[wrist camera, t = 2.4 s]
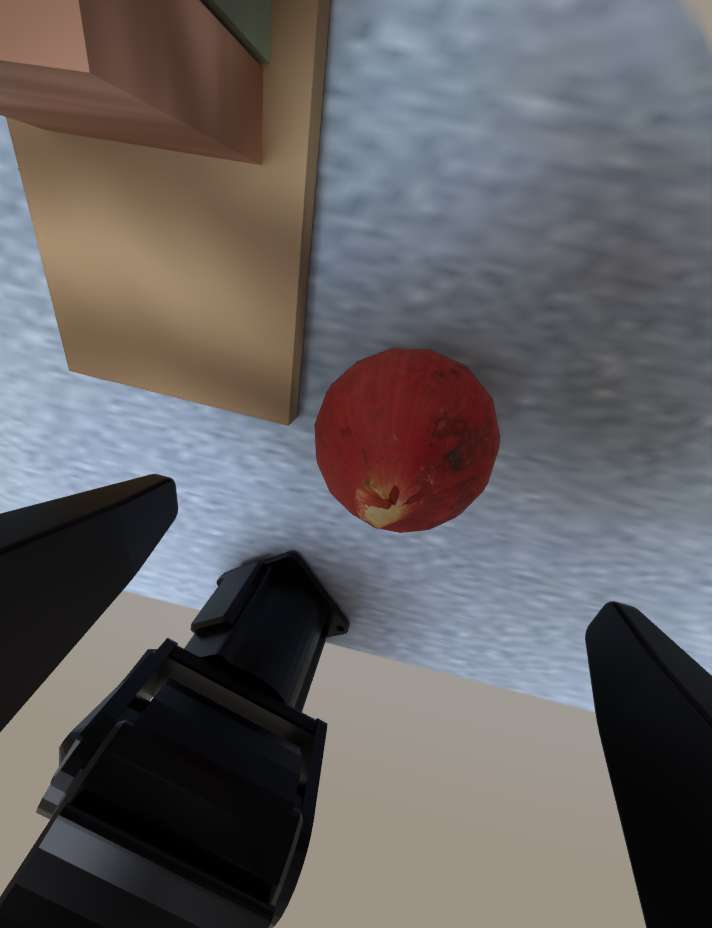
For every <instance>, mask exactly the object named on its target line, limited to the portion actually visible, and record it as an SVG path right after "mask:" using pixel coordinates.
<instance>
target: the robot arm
mask: <svg viewBox="0 0 712 928" xmlns="http://www.w3.org/2000/svg"><path fill="white" fill-rule="evenodd" d="M177 513H178V502H177V492H176V484H175V482H174V480H173V479H172V478H169V477H166V476H162V475H159V474H151V475H147V476H143V477H139V478H136V479H132V480H128V481H124V482H120V483H116V484H112V485H109V486H105V487H101V488H97V489H93V490H89V491H85V492H82V493H78V494H74V495H70V496H66V497H62V498H59V499H55V500H51V501H47V502H43V503H39V504H35V505H32V506H28V507H24V508H20V509H16V510H12V511H8V512H5V513H1V514H0V732H1V731H2V729H3V728H4V727H5V726H6V725H7V724H8V723H9V721H10V720H11V719H12V718H13V717H14V715H16V713H17V712H18V711H19V710H20V709H21V708H22V706H23V705H24V704H25V703H26V702H27V701H28V699H29V698H30V697H31V696H32V695H33V694H34V692H35V691H36V690H37V689H38V688H39V687H40V685H41V684H42V683H43V682H44V681H45V680H46V679H47V678H48V676H49V675H50V674H51V673H52V672H53V671H54V669H55V668H56V667H57V666H58V665H59V663H60V662H61V661H62V660H63V659H64V658H65V657H66V655H67V654H68V653H69V652H70V651H71V650H72V649H73V647H74V646H75V645H76V644H77V642H79V640H80V639H81V638H82V637H83V636H84V634H85V633H86V632H87V631H88V630H89V629H90V628H91V626H92V625H93V624H94V623H95V622H96V621H97V620H98V618H99V617H100V616H101V615H102V614H103V613H104V611H105V610H106V609H107V608H108V607H109V606H110V605H111V603H112V602H113V601H114V600H115V599H116V598H117V596H118V595H119V594H120V593H121V592H122V591H123V589H124V588H125V587H126V586H127V585H128V584H129V582H130V581H131V580H132V579H133V577H134V576H135V575H136V573H137V572H138V571H139V570H140V568H141V567H142V565H143V564H144V563H145V561H146V560H147V558H148V557H149V555H150V554H151V553H152V551H153V550H154V548H155V547H156V546H157V544H158V543H159V541H160V540H161V538H162V537H163V536H164V534H165V533H166V531H167V530H168V529H169V527H170V526H171V524H172V523H173V521H174V520H175V518H176V516H177ZM290 560H291V561H290ZM292 561H293V562H292ZM217 585H218V588H217V589H216V590H215V592H214V593H213V594H212V596H211V597H210V599H209V600H208V601H207V603H206V604H205V606H204V607H203V608H202V610H201V611H200V612H199V614H198V615H197V617H196V618H195V619H194V621H193V622H192V624H191V631H192V632H193V633H194V635H193V637H192V638H191V639H190V641H189V642H188V644H187V645H186V647H185V648H184V649H183V648H181V647H179V646H178V645H177V644H178V643H177V642H175V641H173V640H171V639H169V638H167V639H166V640H165V641H164V642H163V644H162V645H161V646H160V647H159V648H158V649H148V650H147V651H146V652H145V654H144V655H143V656H142V658H141V659H140V660H139V662H138V663H137V664H136V665H135V666H134V668H133V669H132V670H131V671H130V673H129V674H128V675H127V676H126V677H125V679H124V680H123V681H122V682H121V683H120V684H119V685H118V686H117V687H116V688H115V689H114V690H113V691H112V692H111V693H110V694H109V695H108V696H107V697H106V698H105V699H104V700H103V701H102V702H101V703H100V704H99V705H98V706H97V707H96V708H95V709H94V710H93V711H92V712H91V713H90V714H89V715H88V716H87V717H86V718H85V719H84V720H83V721H81V723H79V725H77V726H76V727H75V728H74V729H73V730H72V731H71V732H70V733H69V735H68V736H67V737H66V738H65V740H64V741H63V743H62V744H61V746H60V748H59V768H58V769H57V771H56V773H55V774H54V776H53V778H52V780H51V785H50V786H49V788H48V790H47V791H46V793H45V795H44V796H43V798H42V800H41V802H40V804H39V806H38V808H37V811H36V813H38V814H40V815H42V816H44V817H46V818H48V819H50V821H49V823H48V825H47V826H46V828H45V829H44V830H43V832H42V833H41V835H40V837H39V838H38V840H37V841H36V843H35V844H34V846H33V848H32V849H31V850H30V852H29V853H28V855H27V857H26V858H25V860H24V861H23V863H22V864H21V866H20V867H19V869H18V870H17V872H16V873H15V875H14V877H13V878H12V880H11V881H10V883H9V884H8V886H7V888H6V889H5V890H4V892H3V893H2V895H1V897H0V928H273V927H274V926H275V925H276V923H277V922H278V921H279V920H280V918H281V917H282V915H283V913H284V911H285V909H286V908H287V906H288V903H289V901H290V899H291V897H292V894H293V892H294V890H295V887H296V884H297V882H298V879H299V876H300V873H301V870H302V867H303V864H304V860H305V857H306V854H307V850H308V846H309V842H310V838H311V832H312V827H313V821H314V815H315V807H316V800H317V794H318V786H319V780H320V773H321V766H322V759H323V752H324V745H325V738H326V732H327V723H325V722H324V721H322V720H320V719H318V718H317V719H316V720H315V719H313V718H311V717H310V716H308V715H306V714H304V713H302V710H303V707H304V704H305V701H306V698H307V695H308V692H309V689H310V686H311V683H312V680H313V677H314V674H315V671H316V668H317V665H318V662H319V659H320V656H321V653H322V650H323V647H324V644H325V641H326V638H327V637H331V636H336V635H341V634H345V633H347V632H348V629H349V626H350V623H349V621H348V620H347V619H346V617H345V616H344V615H343V613H342V612H341V611H340V609H339V608H338V607H337V605H336V604H335V603H334V601H333V600H332V599H331V597H330V596H329V595H328V593H327V592H326V591H325V589H324V588H323V587H322V585H321V584H320V583H319V581H318V580H317V579H316V577H315V576H314V575H313V573H312V572H311V571H310V569H309V568H308V567H307V565H306V564H305V563H304V561H303V560H302V559H301V557H300V556H299V555H298V554H296V553H293V552H289V553H286V554H283V555H280V556H277V557H274V558H271V559H268V560H265V561H256V562H253V563H250V564H247V565H244V566H241V567H238V568H236V569H233V570H230V571H229V572H228V573H226V574H223V575H221V576H220V577H219V579H218V580H217ZM585 642H586V649H587V656H588V663H589V670H590V678H591V685H592V692H593V699H594V707H595V713H596V719H597V724H598V729H599V734H600V738H601V743H602V746H603V751H604V755H605V759H606V763H607V767H608V771H609V775H610V779H611V784H612V788H613V792H614V796H615V800H616V804H617V809H618V813H619V817H620V821H621V825H622V829H623V833H624V837H625V841H626V845H627V850H628V854H629V858H630V862H631V866H632V870H633V875H634V878H635V883H636V886H637V891H638V895H639V899H640V903H641V907H642V912H643V916H644V920H645V924H646V928H712V676H711V675H710V674H709V673H708V672H707V671H706V670H705V669H704V668H703V667H701V666H700V665H699V664H698V663H697V662H696V661H695V660H694V659H693V658H691V657H690V656H689V655H688V654H687V653H686V652H685V651H684V650H683V649H681V648H680V647H679V646H678V645H677V644H676V643H675V642H674V641H672V640H671V639H670V638H669V637H668V636H667V635H666V634H665V633H664V632H662V631H661V630H660V629H659V628H658V627H657V626H656V625H655V624H654V623H652V622H651V621H650V620H649V619H648V618H647V617H646V616H645V615H644V614H642V613H641V612H640V611H639V610H638V609H636V608H635V607H632V606H629V605H626V604H622V603H619V602H615V601H610V602H608V603H606V604H605V605H604V606H603V607H602V609H601V610H600V611H599V613H598V614H597V615H596V617H595V618H594V619H593V620H592V622H591V623H590V624H589V626H588V627H587V630H586V634H585ZM152 697H154V698H153V699H152V700H151V702H150V699H151V698H152Z"/></svg>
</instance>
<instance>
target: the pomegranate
mask: <svg viewBox="0 0 712 928" xmlns="http://www.w3.org/2000/svg"><path fill="white" fill-rule="evenodd" d="M315 443H316V458H317V464H318V466H319V468H320V471H321V473H322V475H323V477H324V480H325V482H326V484H327V487H328V489H329V491H330V493H331V494H332V495H333V496H334V497H335V498H336V499H337V500H338V501H339V502H340V503H341V504H342V505H343V506H344V507H345V508H346V509H347V510H348V511H349V512H350V513H351V514H353V515H354V516H356V517H358V518H359V519H361V520H363V521H364V522H366V523H368V524H369V525H371V526H373V527H374V528H377V529H384V530H389V531H394V532H399V533H403V532H412V531H422V530H429V529H432V528H434V527H437V526H439V525H441V524H443V523H445V522H447V521H449V520H452V519H454V518H456V517H457V516H458V515H460V514H461V513H462V512H463V511H464V510H465V509H466V508H467V507H468V506H469V505H470V504H471V503H472V502H473V501H474V500H475V499H476V498H477V497H478V496H479V495H480V494H481V493H482V492H483V491H484V489H485V487H486V485H487V484H488V482H489V478H490V475H491V472H492V469H493V466H494V463H495V459H496V456H497V453H498V450H499V443H500V434H499V429H498V424H497V418H496V413H495V408H494V403H493V399H492V397H491V396H490V395H489V394H488V392H487V391H486V390H485V389H484V387H483V386H482V385H481V384H480V382H479V381H478V380H477V379H476V377H475V376H474V375H473V374H472V372H471V371H470V370H469V369H468V367H467V366H465V365H463V364H460V363H458V362H456V361H454V360H451V359H449V358H447V357H445V356H443V355H440V354H438V353H436V352H434V351H432V350H425V349H396V348H391V349H389V350H386V351H383V352H381V353H378V354H375V355H373V356H370V357H367V358H365V359H362V360H359V361H357V362H356V363H355V364H354V365H353V366H352V367H350V368H349V369H348V370H347V371H346V372H345V373H344V374H343V375H341V376H340V377H339V378H338V379H337V380H336V381H335V382H334V383H332V384H331V386H330V388H329V389H328V391H327V392H326V395H325V398H324V400H323V403H322V406H321V408H320V411H319V414H318V416H317V419H316V422H315Z"/></svg>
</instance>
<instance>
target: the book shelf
mask: <svg viewBox="0 0 712 928" xmlns="http://www.w3.org/2000/svg"><path fill="white" fill-rule="evenodd" d="M330 4H331V0H0V115H2V116H5V117H6V119H7V123H8V127H9V131H10V135H11V139H12V143H13V147H14V151H15V155H16V159H17V163H18V167H19V171H20V175H21V179H22V183H23V187H24V191H25V195H26V199H27V203H28V207H29V211H30V215H31V219H32V223H33V227H34V231H35V235H36V239H37V243H38V248H39V252H40V256H41V260H42V264H43V268H44V272H45V276H46V280H47V284H48V288H49V292H50V296H51V300H52V304H53V308H54V312H55V316H56V320H57V324H58V328H59V332H60V336H61V340H62V344H63V348H64V352H65V356H66V360H67V364H68V368H69V371H72V372H76V373H80V374H84V375H88V376H92V377H96V378H100V379H104V380H108V381H112V382H116V383H120V384H124V385H128V386H132V387H136V388H140V389H144V390H148V391H152V392H156V393H160V394H164V395H168V396H172V397H176V398H180V399H184V400H188V401H192V402H196V403H200V404H204V405H208V406H212V407H216V408H220V409H224V410H228V411H232V412H236V413H240V414H244V415H248V416H252V417H256V418H260V419H264V420H268V421H272V422H276V423H280V424H284V425H288V426H289V425H290V424H291V423H292V422H293V421H294V420H295V419H296V418H297V407H298V395H299V383H300V370H301V358H302V346H303V334H304V321H305V309H306V297H307V285H308V273H309V260H310V248H311V236H312V224H313V211H314V199H315V187H316V175H317V163H318V150H319V138H320V126H321V114H322V101H323V89H324V77H325V65H326V53H327V40H328V28H329V16H330Z"/></svg>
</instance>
